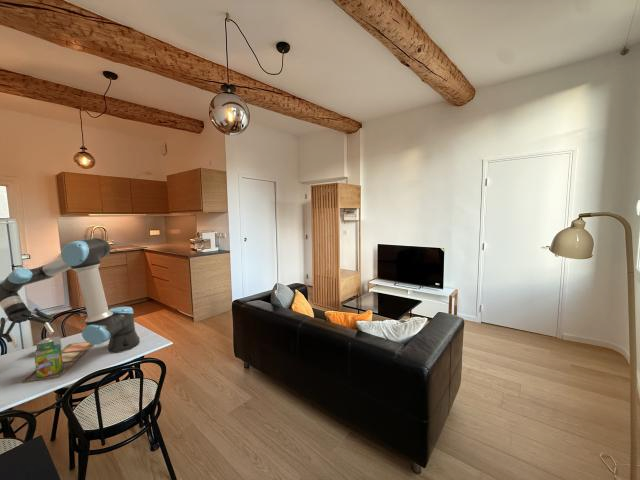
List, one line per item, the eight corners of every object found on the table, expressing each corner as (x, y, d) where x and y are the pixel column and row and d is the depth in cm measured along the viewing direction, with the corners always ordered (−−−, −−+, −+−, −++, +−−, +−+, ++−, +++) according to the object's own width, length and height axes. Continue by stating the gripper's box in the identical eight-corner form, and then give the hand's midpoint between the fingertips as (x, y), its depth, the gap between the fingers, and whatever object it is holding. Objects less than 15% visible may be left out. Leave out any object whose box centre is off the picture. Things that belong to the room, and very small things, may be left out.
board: (58, 377, 131) (58, 375, 131) (21, 382, 127) (21, 380, 127) (97, 341, 164) (97, 340, 164) (69, 345, 161) (69, 343, 161)
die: (53, 354, 151) (51, 342, 150) (38, 356, 150) (36, 344, 149) (61, 347, 158) (60, 336, 157) (47, 349, 156) (45, 337, 155)
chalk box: (37, 379, 129) (32, 350, 127) (38, 371, 136) (33, 343, 134) (63, 371, 136) (59, 343, 134) (63, 363, 142) (59, 337, 140)
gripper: (43, 302, 153) (63, 332, 150) (-25, 320, 130) (-3, 356, 127) (47, 294, 150) (67, 324, 147) (-21, 311, 127) (1, 347, 124)
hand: (35, 339), depth 137 cm, fingers open, 13 cm apart
